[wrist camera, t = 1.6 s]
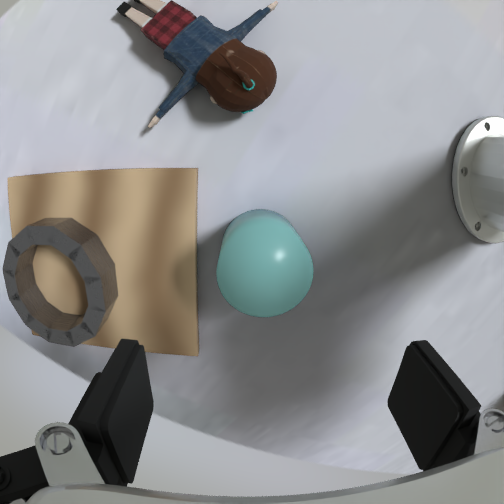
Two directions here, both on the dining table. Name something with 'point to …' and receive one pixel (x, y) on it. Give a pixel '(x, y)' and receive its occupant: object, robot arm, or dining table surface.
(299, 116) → the dining table surface
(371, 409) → the dining table surface
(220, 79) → the toy
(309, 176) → the dining table surface
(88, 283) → the faceted gray ring
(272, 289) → the teal rounded tetrahedron
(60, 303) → the board
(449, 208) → the dining table surface
